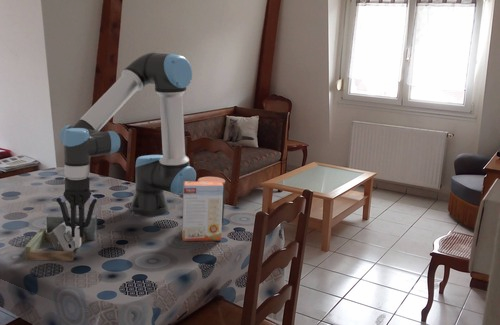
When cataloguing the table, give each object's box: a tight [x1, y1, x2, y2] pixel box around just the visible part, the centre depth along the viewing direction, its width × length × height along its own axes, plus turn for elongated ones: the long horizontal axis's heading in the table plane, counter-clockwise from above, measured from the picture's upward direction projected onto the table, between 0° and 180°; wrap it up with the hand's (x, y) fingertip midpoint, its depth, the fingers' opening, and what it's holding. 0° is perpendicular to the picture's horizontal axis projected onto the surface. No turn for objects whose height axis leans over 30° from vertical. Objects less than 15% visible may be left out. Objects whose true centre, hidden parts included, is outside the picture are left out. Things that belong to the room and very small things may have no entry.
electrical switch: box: [48, 222, 77, 251], centre depth 168 cm, size 9×5×9 cm, turn 174°
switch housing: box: [46, 212, 98, 241], centre depth 179 cm, size 16×5×8 cm, turn 95°
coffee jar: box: [197, 176, 226, 225], centre depth 200 cm, size 11×11×18 cm
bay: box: [24, 228, 86, 262], centre depth 169 cm, size 15×17×4 cm
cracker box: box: [181, 181, 223, 242], centre depth 185 cm, size 14×6×21 cm, turn 100°
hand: (78, 246), depth 170 cm, fingers closed
